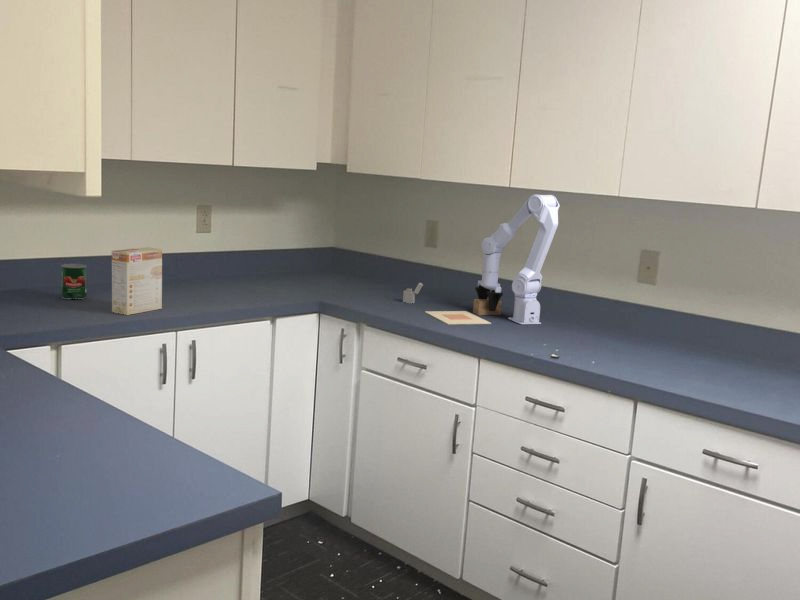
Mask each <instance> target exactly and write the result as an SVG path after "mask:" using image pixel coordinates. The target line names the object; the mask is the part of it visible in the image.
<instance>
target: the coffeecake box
mask: <svg viewBox="0 0 800 600" xmlns="http://www.w3.org/2000/svg"><path fill="white" fill-rule="evenodd" d="M162 309H163V249H161V248H154V247H151V246H150V247H149V246H147V247H145V246H144V247H137V248H129V249H127V248H126V249H118V250H111V313H113V312H114V313H113V314H118V313H119V315H123V314H124V316H129V315H135V314H139V313H145V312H151V311H157V310H162Z"/></svg>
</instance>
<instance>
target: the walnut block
mask: <svg viewBox="0 0 800 600" xmlns="http://www.w3.org/2000/svg"><path fill="white" fill-rule="evenodd" d="M502 304H503V300H499V302H498V304H497V307H496V310H495V311H489V300H488V298H487V299H478V298H474V299H473V306H472V307H473V308H472V314H474V315H476V316H477V315H478V316H493V315H494V316H500V315H502V308H503V307H502V306H503V305H502Z"/></svg>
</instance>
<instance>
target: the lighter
mask: <svg viewBox="0 0 800 600" xmlns="http://www.w3.org/2000/svg"><path fill="white" fill-rule="evenodd" d="M423 286H424V284H423V283H422V282H419V283H418V284H417V285H416V287H415V289H414V291H413V288H410V287H409V288H405V290H403V292H402V293H403V295H402V303H404V302H406V303H407V304H412V303H413V304H415V302H416V300H415V299H416V295H418V294H419V293H420V291H421V289H422V287H423Z"/></svg>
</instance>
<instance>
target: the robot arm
mask: <svg viewBox="0 0 800 600" xmlns="http://www.w3.org/2000/svg"><path fill="white" fill-rule="evenodd" d="M560 206H561V205H560V203H559V201H558V199H557V197H556V196H555V195H554V194H538V193H537V194H535V193H534V194H532V195H531V196H529V198H528V199H527V200H525V201H524V204H523V205H522V207H521V208H520V209H519V210H518V211H517V213H516V214H515V215H514V216H513V217H512V218H511V220H510V221H509V222H504V223H500V224H499V225H498V227H499V228H497V229H496V231H494V233H491V235H490V237H485V238H484V239H483V240H482V242H481V244H480V246H481V247H480V248H481V252H482V253H483V261H482V273H481V280H477V286H478V287H477V286H476V287H475V288H474V289H475V292H476V294H477V299H488V300H489V311H495V310H496V307H497V304H498V302H499V300H500V299H501V298H502V297H503V295H504V293H503V292H502V287H501V283H499V282H498V280H499V271H500V270H499V269H500V259H501V256H502V253H503V252H504V250H505V246H506V244H508V243H509V242H510V241H511V240H512V239H513V238H514V237H515V236H516V231H517V229H519V228H520V227H521V225H522V224H524V223H525V222H526V221H527V220H528V219H530V217H532V216H533V217H534V218H535V219H536V220H537V221H538V223H539V225H540V226H539V228H538V231H537V233H536V236H535V239H534V242H533V244H532V247H531V249H530V252H529V255H528V258H527V261H526V263H525V265H524V267H523V268H522V269H521V270H520V271H519V272H518V273H517V276H516V277H515V278H514V279H513V280H512V284H511V290H512V293H514V304H513V315H512V317H507V319H508V320H510V321H512V322H514V323H518V324H519V325H542V322H540V315H541V304H540V302H539V301H538V300H537V296H538V293H540V291H541V289H542V280H543V275H542V273H541V271H542V268H543V265H544V262H545V261H546V257H547V254H548V252H549V250H550V247H551V245H552V242H553V241H554V240H553V239H554V236H555V233H556V231H557V229H558V226H559V209H560ZM500 301H501V300H500Z"/></svg>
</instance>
